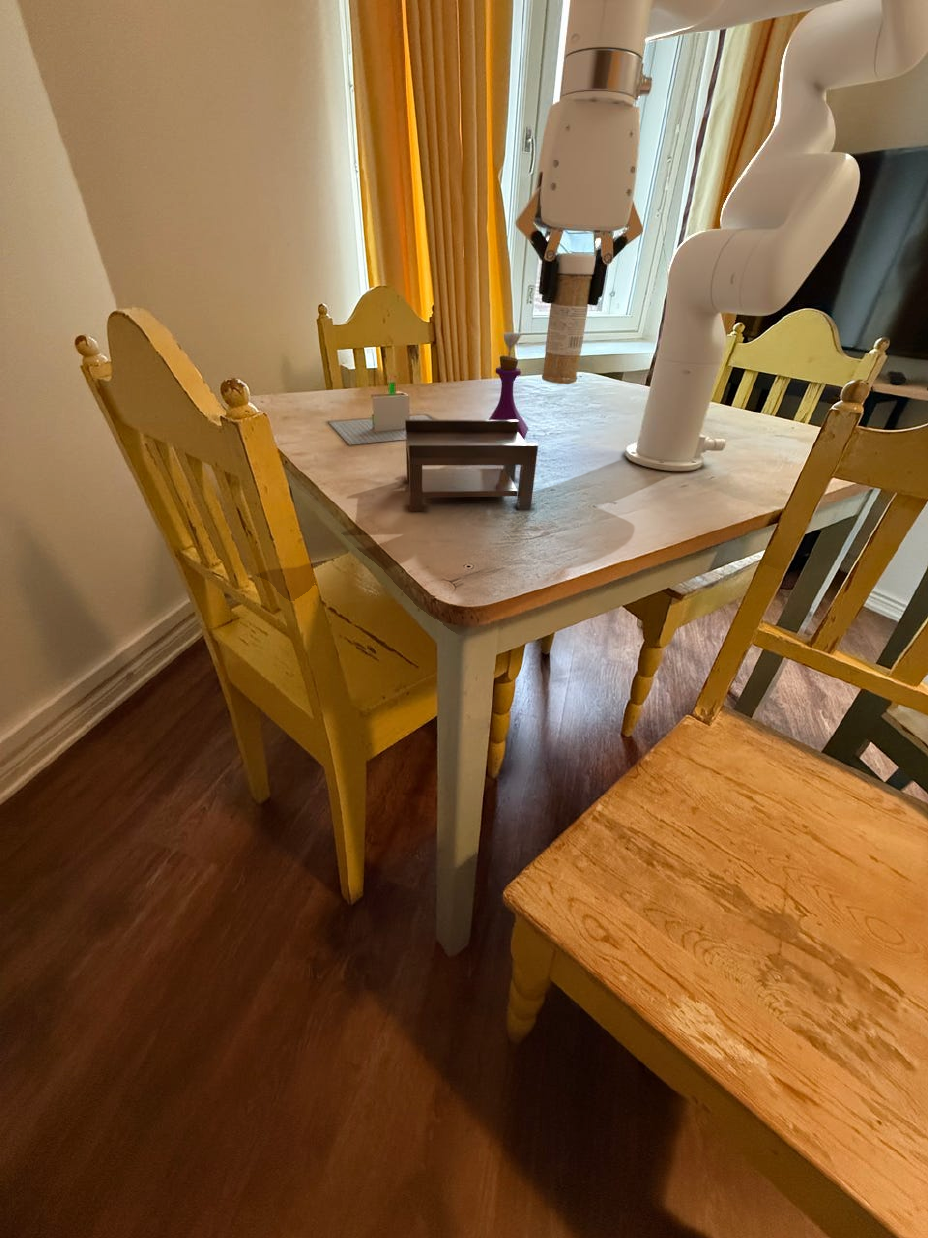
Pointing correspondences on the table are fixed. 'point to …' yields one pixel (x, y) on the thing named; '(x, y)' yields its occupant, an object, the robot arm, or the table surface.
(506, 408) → the perfume bottle
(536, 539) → the table surface
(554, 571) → the table surface
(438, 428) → the rack
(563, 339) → the sprinkles bottle
